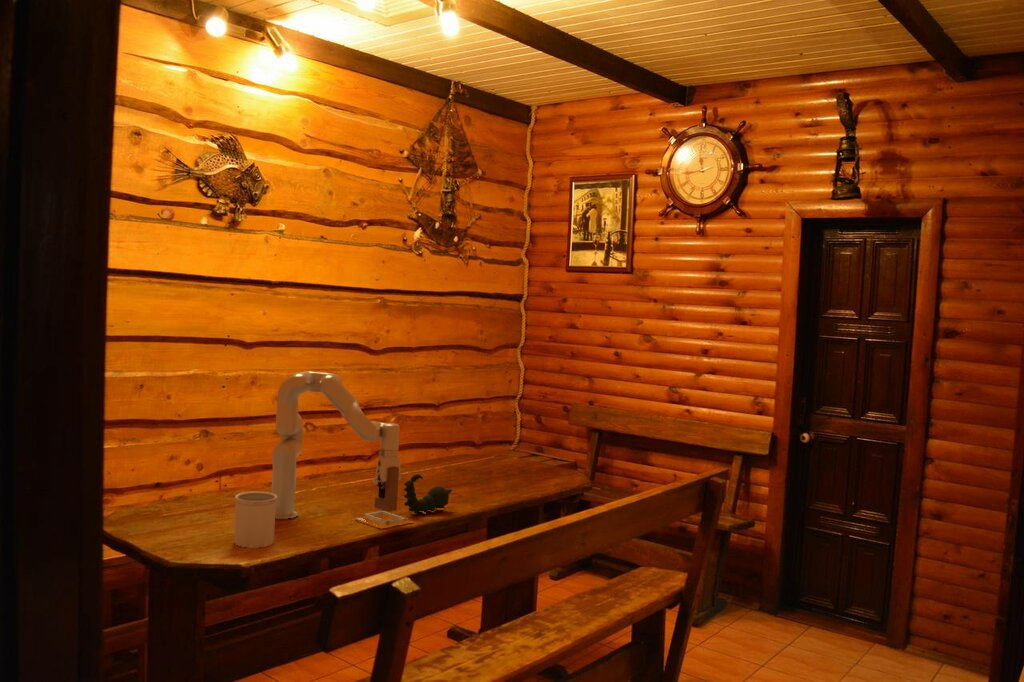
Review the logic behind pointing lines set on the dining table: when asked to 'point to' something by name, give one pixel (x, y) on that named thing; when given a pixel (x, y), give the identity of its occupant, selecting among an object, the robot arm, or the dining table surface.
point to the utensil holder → (255, 519)
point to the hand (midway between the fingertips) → (386, 496)
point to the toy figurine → (425, 497)
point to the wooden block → (389, 492)
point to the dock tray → (373, 514)
